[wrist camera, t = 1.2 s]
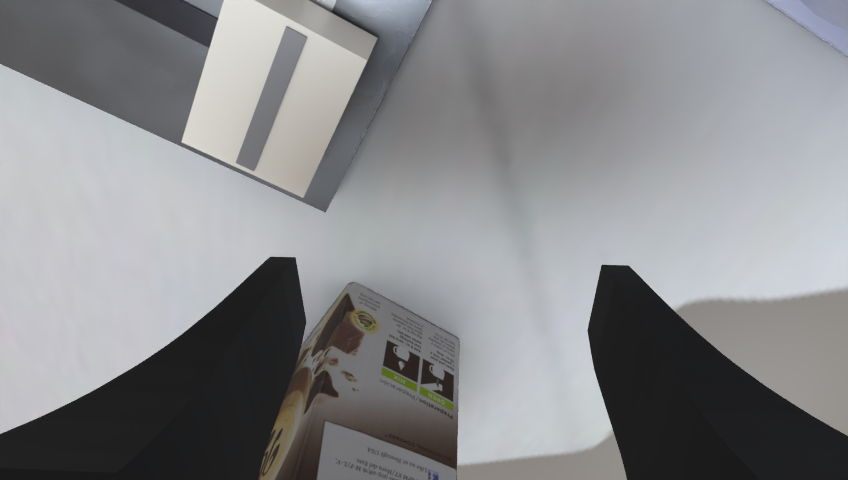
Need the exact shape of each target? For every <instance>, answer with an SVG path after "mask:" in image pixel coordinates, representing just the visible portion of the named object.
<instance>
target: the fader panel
mask: <svg viewBox="0 0 848 480" xmlns="http://www.w3.org/2000/svg"><path fill="white" fill-rule="evenodd" d="M223 1H224V0H0V64H2V65H4V66H7V67H9V68H11V69H13V70H15V71H17V72H20V73H22V74H24V75H26V76H28V77H31V78H33V79H35V80H37V81H39V82H42V83H44V84H46V85H48V86H50V87H52V88H55V89H57V90H59V91H61V92H63V93H66V94H68V95H70V96H72V97H74V98H77V99H79V100H81V101H83V102H85V103H87V104H90V105H92V106H94V107H96V108H98V109H101V110H103V111H105V112H107V113H109V114H112V115H114V116H116V117H118V118H120V119H122V120H125V121H127V122H129V123H131V124H133V125H136V126H138V127H140V128H142V129H144V130H147V131H149V132H151V133H153V134H155V135H157V136H160V137H162V138H164V139H166V140H168V141H171V142H173V143H175V144H177V145H179V146H182V147H184V148H186V149H188V150H190V151H192V152H195V153H197V154H199V155H201V156H203V157H206V158H208V159H210V160H212V161H214V162H217V163H219V164H221V165H223V166H225V167H227V168H230V169H232V170H234V171H236V172H238V173H241V174H243V175H245V176H247V177H249V178H252V179H254V180H256V181H258V182H260V183H262V184H265V185H267V186H269V187H271V188H273V189H276V190H278V191H280V192H282V193H284V194H287V195H289V196H291V197H293V198H295V199H297V200H300V201H302V202H304V203H306V204H308V205H311V206H313V207H315V208H317V209H319V210H322V211H324V212H326V210H327V208H328V206H329V204H330V202H331V200H332V198H333V197H334V195H335V193H336V191H337V189H338V187H339V185H340V183H341V181H342V179H343V177H344V175H345V173H346V171H347V169H348V167H349V165H350V163H351V161H352V159H353V157H354V155H355V153H356V151H357V149H358V147H359V145H360V143H361V141H362V139H363V137H364V135H365V133H366V131H367V129H368V127H369V125H370V123H371V121H372V119H373V117H374V115H375V113H376V111H377V109H378V107H379V105H380V103H381V101H382V99H383V97H384V95H385V93H386V91H387V89H388V87H389V85H390V83H391V81H392V79H393V77H394V75H395V73H396V71H397V69H398V67H399V65H400V63H401V61H402V59H403V57H404V56H405V54H406V52H407V50H408V48H409V46H410V44H411V42H412V40H413V38H414V36H415V34H416V32H417V30H418V28H419V26H420V24H421V22H422V20H423V18H424V16H425V14H426V12H427V10H428V8H429V6H430V4H431V2H432V0H309V1H311V2H313V3H315V4H316V5H318V6H320V7H322V8H324V9H325V10H327V11H329V12H331V13H333V14H335V15H336V16H338V17H340V18H342V19H344V20H346V21H347V22H349V23H351V24H353V25H355V26H357V27H358V28H360V29H362V30H364V31H366V32H368V33H369V34H371V35H373V36H375V37H377V41H376V43H375V45H374V47H373V50H372V52H371V54H370V56H369V58H368V61H367V63H366V65H365V67H364V69H363V71H362V73H361V76H360V78H359V80H358V82H357V84H356V86H355V88H354V91H353V93H352V95H351V97H350V99H349V101H348V103H347V105H346V108H345V110H344V112H343V114H342V116H341V118H340V120H339V123H338V125H337V127H336V129H335V131H334V133H333V135H332V138H331V140H330V142H329V144H328V146H327V148H326V150H325V153H324V155H323V157H322V159H321V161H320V163H319V165H318V167H317V170H316V172H315V174H314V176H313V178H312V180H311V182H310V185H309V187H308V189H307V191H306V193H305V195H304V197H303V198H302V197H300V196H298V195H295V194H293V193H291V192H289V191H287V190H285V189H282V188H280V187H278V186H276V185H274V184H272V183H269V182H267V181H265V180H263V179H261V178H258V177H256V176H254V175H252V174H250V173H248V172H245V171H243V170H241V169H239V168H237V167H234V166H232V165H230V164H228V163H226V162H224V161H221V160H219V159H217V158H215V157H213V156H211V155H208V154H206V153H204V152H202V151H200V150H197V149H195V148H193V147H191V146H189V145H187V144H184V143H182V138H183V135H184V131H185V128H186V125H187V121H188V118H189V115H190V111H191V108H192V105H193V101H194V98H195V95H196V91H197V88H198V85H199V81H200V78H201V75H202V71H203V68H204V65H205V61H206V58H207V55H208V51H209V48H210V45H211V41H212V38H213V35H214V31H215V28H216V24H217V21H218V18H219V14H220V11H221V8H222V4H223Z"/></svg>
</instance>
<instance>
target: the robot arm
mask: <svg viewBox="0 0 848 480" xmlns="http://www.w3.org/2000/svg"><path fill="white" fill-rule="evenodd" d="M765 1H766V2H768V3H769V4H771V5H772V6H774V7H775V8H777V9H778V10H780V11H781V12H783V13H784V14H786V15H787V16H788V17H790V18H791V19H793V20H794V21H796V22H797V23H799V24H800V25H802V26H803V27H805V28H806V29H808V30H809V31H811V32H812V33H813V34H815V35H816V36H818V37H819V38H821V39H822V40H824V41H825V42H827V43H828V44H830V45H831V46H833V47H834V48H835V49H837V50H838V51H840V52H841V53H843V54H844V55H846V56H847V57H848V0H765ZM305 325H306V318H305V312H304V306H303V300H302V294H301V288H300V282H299V276H298V270H297V264H296V258H295V257H270V258H269V259H267V260H266V261H265V262H264V263H263V264H262V265H261V266H260V267H259V268H258V269H256V270H255V271H254V272H253V273H252V274H251V275H250V276H249V277H248V278H247V279H246V280H245V281H244V282H242V283H241V284H240V285H239V286H238V287H237V288H236V289H235V290H234V291H233V292H232V293H231V294H229V295H228V296H227V297H226V298H225V299H224V300H223V301H222V302H220V303H219V304H218V305H217V306H216V307H215V308H214V309H213V310H211V311H210V312H209V313H208V314H206V315H205V316H204V317H203V318H202V319H200V320H199V321H198V322H197V323H195V324H194V325H193V326H192V327H190V328H189V329H188V330H187V331H186V332H184V333H183V334H182V335H180V336H179V337H178V338H176V339H175V340H174V341H172V342H171V343H170V344H168V345H167V346H165V347H164V348H162V349H161V350H160V351H158V352H157V353H155V354H154V355H152V356H151V357H149V358H148V359H146V360H145V361H143V362H142V363H140V364H138V365H137V366H135V367H133V368H132V369H130V370H128V371H127V372H125V373H123V374H122V375H120V376H118V377H116V378H115V379H113V380H111V381H110V382H108V383H106V384H105V385H103V386H101V387H99V388H98V389H96V390H94V391H92V392H90V393H88V394H86V395H84V396H82V397H81V398H79V399H77V400H75V401H73V402H71V403H69V404H67V405H65V406H63V407H61V408H58V409H56V410H54V411H52V412H50V413H48V414H46V415H44V416H42V417H39V418H37V419H35V420H33V421H30V422H28V423H26V424H23V425H21V426H18V427H16V428H14V429H11V430H9V431H7V432H4V433H2V434H0V480H258V478H259V473H260V469H261V465H262V461H263V458H264V454H265V451H266V448H267V445H268V442H269V439H270V436H271V433H272V430H273V428H274V425H275V422H276V419H277V417H278V414H279V411H280V408H281V406H282V403H283V400H284V397H285V395H286V392H287V389H288V386H289V384H290V381H291V378H292V375H293V372H294V370H295V367H296V364H297V361H298V358H299V353H300V349H301V344H302V340H303V335H304V330H305ZM588 335H589V342H590V348H591V354H592V360H593V365H594V370H595V373H596V377H597V380H598V383H599V386H600V390H601V393H602V396H603V399H604V403H605V406H606V409H607V412H608V415H609V418H610V422H611V425H612V428H613V431H614V434H615V437H616V441H617V444H618V447H619V450H620V453H621V457H622V460H623V464H624V468H625V472H626V476H627V480H848V436H847V435H845V434H843V433H841V432H839V431H837V430H835V429H834V428H832V427H830V426H829V425H827V424H825V423H824V422H822V421H820V420H818V419H817V418H815V417H813V416H811V415H810V414H808V413H807V412H805V411H803V410H802V409H800V408H799V407H797V406H795V405H794V404H792V403H791V402H789V401H787V400H786V399H784V398H783V397H781V396H780V395H778V394H777V393H775V392H774V391H772V390H771V389H769V388H767V387H766V386H765V385H763V384H762V383H760V382H759V381H758V380H756V379H755V378H754V377H752V376H751V375H749V374H748V373H747V372H745V371H744V370H743V369H741V368H740V367H738V366H737V365H736V364H735V363H733V362H732V361H731V360H729V359H728V358H727V357H726V356H724V355H723V354H722V353H721V352H720V351H718V350H717V349H716V348H715V347H714V346H712V345H711V344H710V343H709V342H708V341H706V340H705V339H704V338H703V337H702V336H701V335H699V334H698V333H697V332H696V331H695V330H694V329H693V328H692V327H690V326H689V325H688V324H687V323H686V322H685V321H684V320H683V319H682V318H681V317H680V316H679V315H678V314H677V313H676V312H675V311H674V310H673V309H671V308H670V307H669V306H668V305H667V304H666V303H665V302H664V301H663V300H662V299H661V298H660V297H659V296H658V295H657V294H656V293H655V292H654V291H653V290H652V289H651V288H650V287H649V286H648V285H647V284H646V283H645V282H644V281H643V280H642V278H641V277H640V276H639V275H638V274H637V273H636V272H635V271H634V270H632V269H631V268H630V267H629V266H624V265H602V266H601V271H600V275H599V280H598V285H597V289H596V294H595V299H594V303H593V308H592V312H591V317H590V322H589V326H588Z"/></svg>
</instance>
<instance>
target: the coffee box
mask: <svg viewBox="0 0 848 480" xmlns="http://www.w3.org/2000/svg"><path fill="white" fill-rule="evenodd" d="M459 347H460V344H459V340H458V339H457V338H456V337H454V336H453V335H451V334H449V333H447V332H445V331H444V330H442V329H440V328H438V327H437V326H435V325H433V324H431V323H429V322H427V321H425V320H424V319H422V318H420V317H418V316H417V315H415V314H413V313H411V312H409V311H408V310H406V309H404V308H402V307H400V306H399V305H397V304H395V303H393V302H391V301H390V300H388V299H386V298H384V297H382V296H381V295H379V294H377V293H375V292H373V291H371V290H370V289H368V288H366V287H364V286H362V285H360V284H358V283H350V284H348V285H347V286H346V288H345V289H344V290H343V292H342V293H341V294H340V296H339V297H338V298H337V299H336V301H335V302H334V303H333V305H332V306H331V307H330V309H329V310H328V311H327V313H326V314H325V315H324V317H323V318H322V319H321V321H320V322H319V323H318V325H317V326H316V327H315V329H314V330H313V331H312V333H311V334H310V335H309V337H308V338H307V339H306V341H305V342H304V343H303V345H302V346H301V349H300V353H299V358H298V361H297V364H296V367H295V370H294V372H293V375H292V378H291V381H290V384H289V386H288V389H287V392H286V395H285V397H284V400H283V403H282V406H281V408H280V411H279V414H278V417H277V419H276V422H275V425H274V428H273V430H272V433H271V436H270V439H269V442H268V445H267V448H266V451H265V454H264V458H263V461H262V465H261V469H260V473H259V478H258V480H457V435H458V385H459Z"/></svg>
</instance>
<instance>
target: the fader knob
mask: <svg viewBox="0 0 848 480" xmlns="http://www.w3.org/2000/svg"><path fill="white" fill-rule="evenodd" d="M376 41H377V37H375V36H373V35H371V34H369V33H368V32H366V31H364V30H362V29H360V28H358V27H357V26H355V25H353V24H351V23H349V22H347V21H346V20H344V19H342V18H340V17H338V16H336V15H335V14H333V13H331V12H329V11H327V10H325V9H324V8H322V7H320V6H318V5H316V4H315V3H313V2H311V1H309V0H224V1H223V4H222V8H221V11H220V14H219V18H218V21H217V24H216V28H215V31H214V35H213V38H212V41H211V45H210V48H209V51H208V55H207V58H206V61H205V65H204V68H203V71H202V75H201V78H200V81H199V85H198V88H197V91H196V95H195V98H194V101H193V105H192V108H191V111H190V115H189V118H188V121H187V125H186V128H185V131H184V135H183V138H182V143H184V144H187V145H189V146H191V147H193V148H195V149H197V150H200V151H202V152H204V153H206V154H208V155H211V156H213V157H215V158H217V159H219V160H221V161H224V162H226V163H228V164H230V165H232V166H234V167H237V168H239V169H241V170H243V171H245V172H248V173H250V174H252V175H254V176H256V177H258V178H261V179H263V180H265V181H267V182H269V183H272V184H274V185H276V186H278V187H280V188H282V189H285V190H287V191H289V192H291V193H293V194H295V195H298V196H300V197H302V198H303V197H304V195H305V193H306V191H307V189H308V187H309V185H310V182H311V180H312V178H313V176H314V174H315V172H316V170H317V167H318V165H319V163H320V161H321V159H322V157H323V155H324V153H325V150H326V148H327V146H328V144H329V142H330V140H331V138H332V135H333V133H334V131H335V129H336V127H337V125H338V123H339V120H340V118H341V116H342V114H343V112H344V110H345V108H346V105H347V103H348V101H349V99H350V97H351V95H352V93H353V91H354V88H355V86H356V84H357V82H358V80H359V78H360V76H361V73H362V71H363V69H364V67H365V65H366V63H367V61H368V58H369V56H370V54H371V52H372V50H373V47H374V45H375V43H376Z"/></svg>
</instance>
